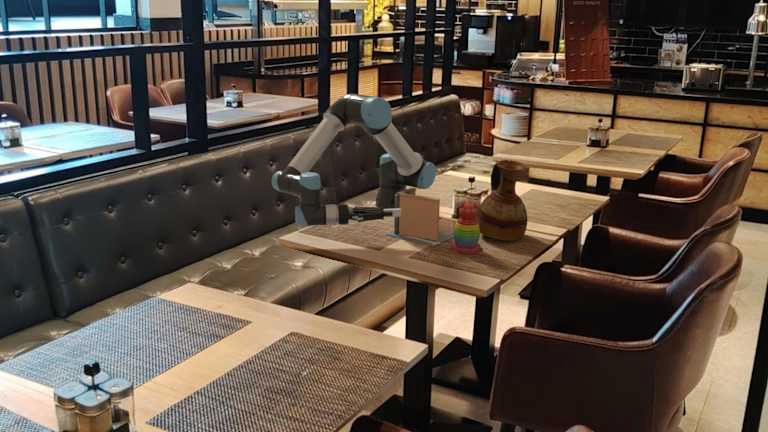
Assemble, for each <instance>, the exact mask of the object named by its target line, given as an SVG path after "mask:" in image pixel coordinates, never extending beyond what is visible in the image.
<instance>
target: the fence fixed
mask: <svg viewBox="0 0 768 432" xmlns="http://www.w3.org/2000/svg"><path fill="white" fill-rule="evenodd" d="M416 191H417V188H415V187H409V188H406V190H404V191H401V192H397V194H395V209H397V208H399V207H400V196H399V194H401V193H405V194H412V195H416V193H417V192H416ZM393 221H394V227H393V229H394V230H393V231H394V234H399V217H394V220H393Z"/></svg>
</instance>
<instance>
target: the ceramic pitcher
mask: <svg viewBox="0 0 768 432" xmlns="http://www.w3.org/2000/svg"><path fill="white" fill-rule="evenodd" d="M525 168H526V165H525V164H523V163H522V162H520V161H518V160H511V159H510V160H508V159H502V160H498V161H497V162H495V164H494V165H493V167H492V170H491V174H490V187H491V188H490V193H489V194H488V195H487V196H486V197H485V198H484V199H483V200H482V202H481V203H480V205H479V206H478V208H477V216H476V217H475V218H476V219H477V221H478V223H479V229H480V235H482V236H485V237H488V238H491V239H495V240H500V241H515V240H516V241H517V240H519V239H520V238H522V237H524V235H525V233H526V231H527V228H528V212H527V208H526V205H525V203H524V202H523V200H522V198H521V197H520V196H519V195H518V194H517V192H516V184H517V180H518V177H519V175H520V173H521V172H522V171H523V170H525Z"/></svg>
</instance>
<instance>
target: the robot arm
mask: <svg viewBox="0 0 768 432" xmlns="http://www.w3.org/2000/svg"><path fill="white" fill-rule="evenodd" d="M391 111H392V107H391V105H390V103H389V102H388V101H387V100H386V99H385V98H383V97H379V96H376V95H366V94H365V95H364V94H358V93H349V94H348V93H347V94H344V95H343V96H342V97H339V98H338V99H337V100H336V101H334V102H333V103H331V105H329V107H328V108H327V110H326V111H325V112H324V113H323V115H322V118H323V119H322V120H321V122H320V123H319V124H318V125H317V127H316V128H315V130H313V132H312V133H311V135H310V136H309V137H308V139H307V140H306V142H305V143H304V144H303V145H302V146H301V148H300V149H299V151H298V152H297V153H296V155H295V156H294V157H293V158H292V160H291V161H290V162H289V164H287V166H286V168H285V169H284V171H283V170H279V171H276V172H275V173H274V174H272V175H273V176H272V177H271V185H272V187H273V189H274V190H275V191H277V192H280V193H283V194H284V193H285V194H289V195H292V196H295V197H297V198H299V204H300V205H296V206H295V207H294V208H295V209H294V215H295V224H296V225H297V227H298V226H299V227H314V226H315V227H316V226H329V227H331V226H337V224H338V225H339V226H342V225H343V226H346V225H348V224H349V222H350V220H351V221H355V222H356V221H357V223H361V222H367V221H369V222H371V221H379V220H384V218H393V217H394V218H395V217H400V216H401V208H397V209H395V194H397V192H401V191H404V190H407V187H409V188H416V189H418V190H427V189H429V188H431V187H432V185H433V184H434V182H435V179H436V176H437V169H436V165H435V164H434V163H432V162H430V161H426V160H425V159H424V157H423V156H422V155H421V154H420V153H419V152H414V151H413V149H412V148H411V146H410V145H409V144H408V142H407V141H406V139H404V137H403V136H402V134H401V133H400V132H399V131H398V129H397V127H395V125H394V124H393V122H392V117H393V113H392V112H391ZM348 125H357V126H360V128H361V127H362V130H363V131H364V132H365V133H366V134H367V135H369V136H372V137H373V136H374V138H375V139H376V141H378V144H380V145H381V146H382V147H383V149H384V150H385V151H386V153H384V154H382V155H381V156H380V157H379V158H380V159H379V187H378V191H377V194H376V197H375V202H374V203H375V206H360V205H354V207H352V208H349V205H348V204H347V203H346V204H345V203H343V204H342V203H340V204H333V203H332V204H321V203H322V199H321V198H322V197H321V196H322V194H321V193H322V192H321V191H322V189H321V186H322V183H321V176H320V174H319V173H317V172H311V171H310V170H311V169H312V167H314V165H315V164H316V162H317V161H318V160H319V159H320V157H321V156H322V155H323V153H324V152H325V151H326V149H327V148H328V146H329V145H330V144H331V142H332V141H333V140H334V138H335V137H336V136H337V135H338V133H339V132H340V131H344V130H345V128H346V127H347V126H348Z"/></svg>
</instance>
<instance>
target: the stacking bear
mask: <svg viewBox="0 0 768 432" xmlns="http://www.w3.org/2000/svg"><path fill="white" fill-rule="evenodd" d="M478 209H479V205H478V204H477V203H472V202H465V203H462V202H461V203H460V204H459V208H458V214H459V218H457V221H456V223H455V226H454V230H453V236H454V238H453V239H454V241H453V242H452V243H451V246H450V247H451V249H452V250H453V251H454V252H456V253H458V254H460V255H473V254H476V253H479V252H480V251H481V249H482V246H481V243H479V241H480V240H479V239H480V236H481V233H480V229H479V223H478V221H477V219H476V216H477V211H478Z"/></svg>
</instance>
